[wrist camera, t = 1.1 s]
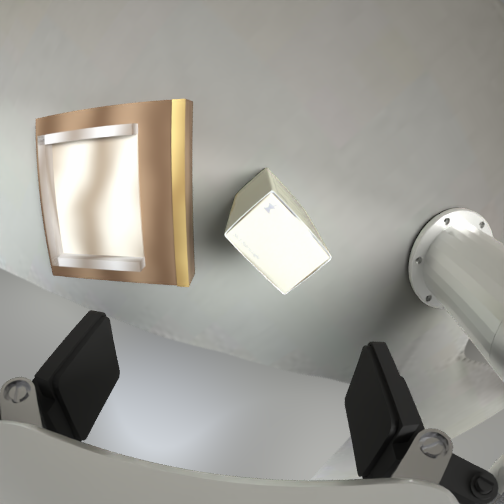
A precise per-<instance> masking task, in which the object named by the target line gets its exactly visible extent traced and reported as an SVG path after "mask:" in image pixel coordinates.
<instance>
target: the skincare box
mask: <svg viewBox="0 0 504 504" xmlns="http://www.w3.org/2000/svg"><path fill="white" fill-rule="evenodd" d="M224 235H225V237H226V238H227V239H228V240H229V241H230V242H231V243H232V244H233V246H234V247H235V248H236V249H237V250H238V251H239V252H240V253H241V254H242V255H243V256H244V257H245V258H246V259H247V260H248V261H249V262H250V263H251V264H252V265H253V266H254V267H255V268H256V269H257V270H258V271H259V272H260V273H261V274H262V275H263V276H264V277H265V278H266V279H267V280H268V281H269V282H271V283H272V284H273V285H274V286H275V287H276V288H277V289H278V290H279V291H280V292H281V293H282V294H284V295H285V294H287V293H288V292H290V291H291V290H292V289H294V288H295V287H297V286H298V285H299V284H301V283H302V282H303V281H305V280H306V279H307V278H309V277H310V276H311V275H312V274H314V273H315V272H316V271H318V270H319V269H320V268H321V267H323V266H324V265H325V264H326V263H328V262H329V261H330V260H331V257H332V256H331V254H330V252H329V251H328V249H327V247H326V245H325V244H324V242H323V240H322V238H321V237H320V235H319V233H318V232H317V230H316V228H315V226H314V225H313V223H312V221H311V219H310V218H309V216H308V214H307V213H306V211H305V210H304V208H303V207H302V206H301V205H300V204H299V202H298V201H297V200H296V199H295V198H294V196H293V195H292V194H291V193H290V192H289V191H288V190H287V188H286V187H285V186H284V185H283V184H282V183H281V182H280V181H279V180H278V178H277V177H276V176H275V175H274V174H273V173H272V172H271V171H270V170H269V169H268V168H265V169H264V170H262V171H261V172H260V173H259V174H258V175H257V176H255V177H254V178H253V179H252V180H251V181H250V182H249V183H247V184H246V185H245V186H244V187H243V188H242V189H241V190H240V191H239V192H238V193H237V194H236V195H235V198H234V202H233V205H232V208H231V212H230V215H229V219H228V222H227V226H226V229H225V233H224Z"/></svg>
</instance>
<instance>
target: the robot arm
mask: <svg viewBox="0 0 504 504" xmlns="http://www.w3.org/2000/svg"><path fill="white" fill-rule="evenodd" d="M408 271H409V280H410V283H411V287H412V288H413V290H414V292H415V294H416V295H417V296H418V297H419V299H420V300H421V301H422V302H424V303H425V304H426V305H429V306H431V307H434V308H439V309H440V308H445V309H446V310H447V312H448V313H449V314H450V315H451V316H452V318H453V319H454V320H455V321H456V322H457V324H458V325H459V326H460V327H461V329H462V330H463V331H464V332H465V333H466V335H467V336H468V337H469V339H470V340H471V341H472V342H473V344H474V345H475V346H476V347H477V349H478V350H479V351H480V353H481V354H482V355H483V357H484V358H485V359H486V361H487V362H488V363H489V365H490V366H491V367H492V369H493V370H494V371H495V372H496V374H497V375H498V377H499V378H500V379H501V380H502V381H503V382H504V244H502V243H501V242H499V241H498V240H496V239H494V238H493V234H492V231H491V228H490V226H489V225H488V223H487V221H486V220H485V219H484V218H483V217H482V216H481V215H479V214H478V213H476V212H474V211H472V210H469V209H466V208H452V209H449V210H446V211H443V212H442V213H440V214H438V215H437V216H435V217H434V218H433V219H432V220H431V221H430V222H428V223H427V225H426V226H425V227H424V228H423V229H422V231H421V232H420V234H419V235H418V237H417V239H416V241H415V243H414V245H413V248H412V250H411V255H410V259H409V268H408ZM119 374H120V370H119V365H118V360H117V356H116V351H115V346H114V341H113V335H112V330H111V324H110V320H109V318H108V317H106V315H105V313H103V312H97V311H92V310H91V311H89V312H88V313H87V314H86V315H85V316H84V317H83V319H82V320H81V321H80V322H79V323H78V324H77V325H76V327H75V328H74V329H73V330H72V331H71V332H70V333H69V335H68V336H67V337H66V338H65V340H63V342H62V343H61V344H60V345H59V346H58V348H57V349H56V350H55V351H54V352H53V354H52V355H51V356H50V357H49V358H48V360H47V361H46V362H45V363H44V365H43V366H42V367H41V368H40V369H39V371H38V372H37V373H36V374H35V378H34V379H33V381H31V380H29V379H27V378H24V377H16V378H13V379H10V380H8V381H7V382H6V383H5V384H4V385H3V386H2V388H1V390H0V504H504V453H503V454H502V455H501V456H500V458H499V459H498V460H497V461H496V462H495V463H494V464H493V466H491V468H490V469H489V470H488V471H486V470H484V469H482V468H480V467H478V466H476V465H474V464H472V463H470V462H468V461H466V460H464V459H462V458H461V457H458V456H457V455H455V454H453V443H452V441H451V439H450V437H449V436H448V435H447V434H446V433H444V432H443V431H441V430H438V429H432V428H429V429H425V428H424V426H423V423H422V421H421V418H420V416H419V413H418V411H417V408H416V406H415V403H414V401H413V398H412V396H411V394H410V391H409V389H408V387H407V384H406V382H405V380H404V378H403V377H401V376H400V375H399V372H398V370H397V368H396V365H395V363H394V361H393V358H392V356H391V354H390V352H389V349H388V347H387V345H386V343H385V342H369V344H368V346H364V347H363V349H362V352H361V355H360V358H359V361H358V364H357V367H356V369H355V372H354V375H353V378H352V381H351V383H350V386H349V389H348V392H347V394H346V397H345V408H346V413H347V418H348V423H349V428H350V433H351V439H352V444H353V450H354V456H355V461H356V467H357V473H358V475H359V476H362V477H363V479H355V480H315V481H304V480H299V481H298V480H273V479H272V480H271V479H258V478H257V479H256V478H246V477H236V476H227V475H219V474H212V473H205V472H199V471H193V470H187V469H182V468H176V467H171V466H167V465H162V464H157V463H153V462H149V461H144V460H141V459H136V458H133V457H129V456H125V455H122V454H118V453H115V452H111V451H108V450H105V449H101V448H98V447H95V446H92V445H89V444H86V443H83V442H81V441H82V440H85V439H86V438H87V436H88V434H89V432H90V431H91V429H92V427H93V425H94V423H95V421H96V419H97V417H98V415H99V413H100V412H101V410H102V408H103V406H104V404H105V402H106V400H107V399H108V397H109V395H110V393H111V391H112V389H113V388H114V386H115V384H116V382H117V380H118V378H119Z"/></svg>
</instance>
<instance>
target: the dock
mask: <svg viewBox="0 0 504 504" xmlns="http://www.w3.org/2000/svg"><path fill="white" fill-rule="evenodd" d="M192 123H193V102H192V101H190V100H187V99H173V100H161V101H149V102H138V103H128V104H120V105H112V106H104V107H97V108H91V109H84V110H78V111H72V112H67V113H62V114H56V115H52V116H47V117H42V118H38V119H36V152H37V169H38V181H39V192H40V201H41V209H42V216H43V223H44V230H45V236H46V242H47V248H48V253H49V258H50V263H51V268H52V273H53V275H54V276H65V277H75V278H86V279H98V280H110V281H122V282H135V283H149V284H164V285H177V286H180V287H189V285H190V283H191V281H192V279H193V277H194V274H195V264H194V238H193V197H192Z"/></svg>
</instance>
